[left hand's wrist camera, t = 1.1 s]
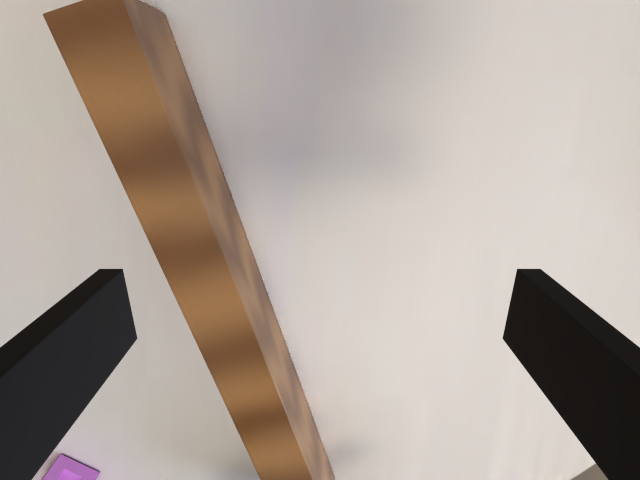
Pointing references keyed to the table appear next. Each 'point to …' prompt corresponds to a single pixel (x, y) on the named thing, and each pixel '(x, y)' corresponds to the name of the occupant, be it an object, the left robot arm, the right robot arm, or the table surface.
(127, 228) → the table surface
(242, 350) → the bar
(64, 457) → the bracket
